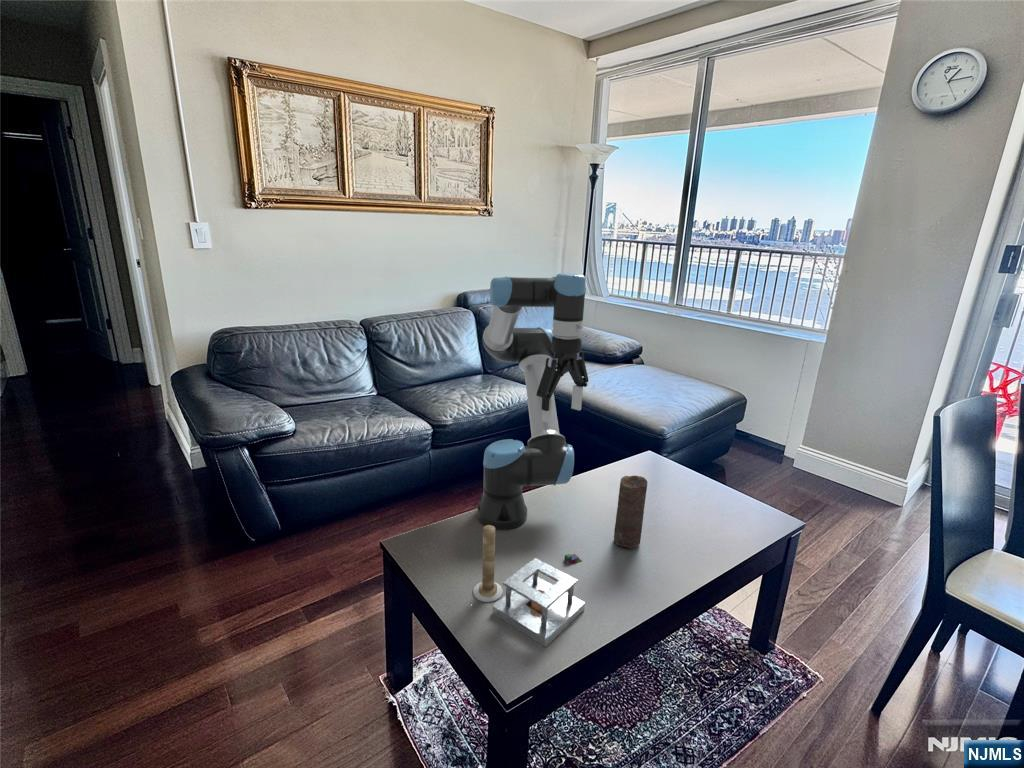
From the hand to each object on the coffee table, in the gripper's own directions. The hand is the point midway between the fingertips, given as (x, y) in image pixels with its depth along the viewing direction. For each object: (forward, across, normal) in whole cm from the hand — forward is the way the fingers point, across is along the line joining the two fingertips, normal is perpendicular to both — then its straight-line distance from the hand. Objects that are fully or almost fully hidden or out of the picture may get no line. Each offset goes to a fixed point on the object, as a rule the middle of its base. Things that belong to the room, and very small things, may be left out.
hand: (561, 415), depth 137 cm
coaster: (+37, -30, -2) cm, 47 cm away
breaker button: (+36, -27, -15) cm, 48 cm away
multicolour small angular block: (+38, -6, -10) cm, 39 cm away
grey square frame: (+37, -27, -15) cm, 48 cm away
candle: (+37, +11, -17) cm, 42 cm away
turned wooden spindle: (+36, -30, -2) cm, 47 cm away
